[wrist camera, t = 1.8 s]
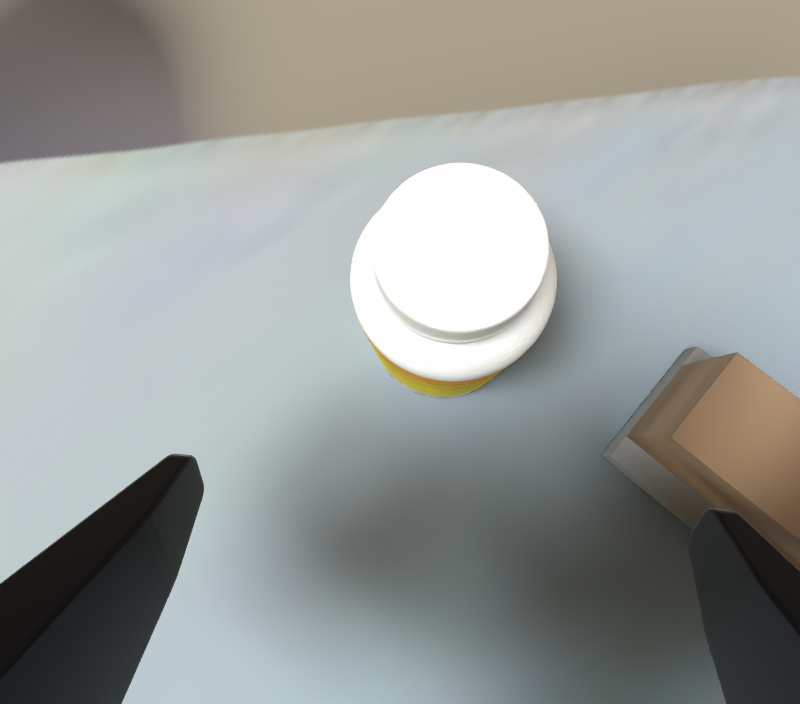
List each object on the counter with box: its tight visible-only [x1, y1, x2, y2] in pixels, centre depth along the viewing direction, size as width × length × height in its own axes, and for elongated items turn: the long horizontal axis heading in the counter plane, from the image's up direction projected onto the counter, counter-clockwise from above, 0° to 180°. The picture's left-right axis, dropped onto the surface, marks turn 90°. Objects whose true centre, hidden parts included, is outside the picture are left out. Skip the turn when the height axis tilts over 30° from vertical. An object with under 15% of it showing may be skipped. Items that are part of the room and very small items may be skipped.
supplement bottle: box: [350, 163, 557, 398], centre depth 16 cm, size 6×6×10 cm
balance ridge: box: [601, 347, 800, 570], centre depth 18 cm, size 10×6×4 cm, turn 50°
